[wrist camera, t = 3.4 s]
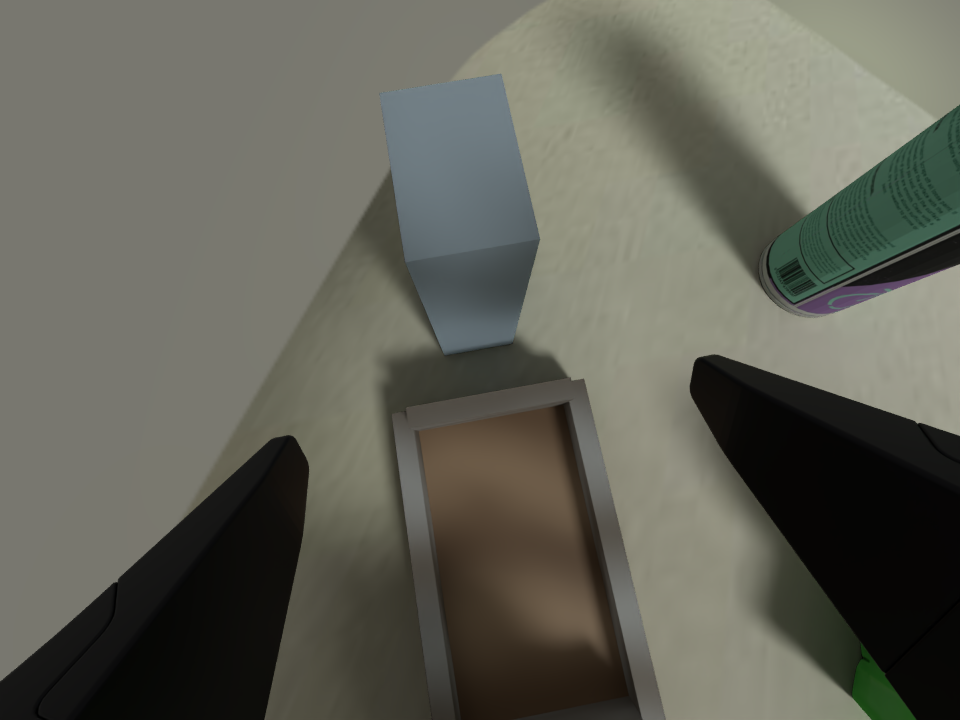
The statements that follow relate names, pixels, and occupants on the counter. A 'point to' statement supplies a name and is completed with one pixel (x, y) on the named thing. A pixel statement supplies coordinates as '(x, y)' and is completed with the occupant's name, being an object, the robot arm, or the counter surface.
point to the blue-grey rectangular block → (462, 208)
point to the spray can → (874, 230)
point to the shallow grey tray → (520, 560)
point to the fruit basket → (877, 692)
